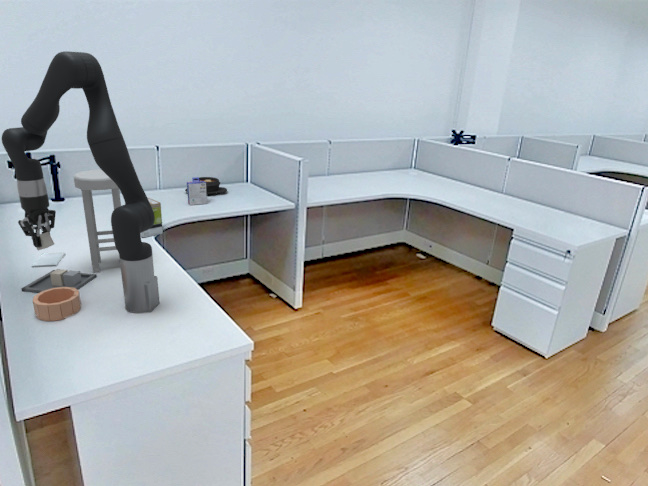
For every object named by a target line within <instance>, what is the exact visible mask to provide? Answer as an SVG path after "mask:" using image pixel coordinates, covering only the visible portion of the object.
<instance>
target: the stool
mask: <svg viewBox="0 0 648 486" xmlns="http://www.w3.org/2000/svg"><path fill="white" fill-rule="evenodd" d="M73 183H74V187H75V188H76V189H79V190H81V196H82V197H81V198H82V204H83V212H84V219H85V225H86V231H87V232H86V233H87V239H88V247H89V252H90V259H91V261H90V262H91V267H92V274H98V273H101V265H100V264H101V263H102V259H101V252H110V251H117V249H116V246H115V245H114V246H113V245H112V246H100V245H99V244H107V243H108V244H109V243H115V242H114V237H112V238H111V237H109V238H100V239H99V236H105V235H113V231H112V230H101V231H99V230H98V229H97V223H96V222H97V220H96V215H95V207H94V199H93V193H92V192H93V191H107V190H111V197H112V205H113V210H114V209H116V208H117V207H120V206H122V201H121V191H120V189H119V188H118V186H117V185H116V184H115V182H114V181H113V180H112V179H110V178H109V177H108V176H107V175H106V174H105V173H104V172H103V171H102V170H101V169H91V170H90V169H89V170H82V171H79V172H76V173H74V176H73ZM97 230H98V231H97Z"/></svg>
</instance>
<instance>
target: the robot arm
mask: <svg viewBox="0 0 648 486" xmlns="http://www.w3.org/2000/svg"><path fill="white" fill-rule="evenodd" d="M106 83H107V82H106V79H105V74H104V72H103V69H102V66H101V64H100V63H99V60H98V59H97V58H96V57H95V56H94V55H92V54H91V53H88V52H81V51H67V50H66V51H60V52H58V53H56V54H55V56H53V57H52V60H51V62H50V63H49V66H48V68H47V70H46V72H45V75H44V78H43V80H42V82H41V85H40V87H39V90H38V93H37V94H36V97H35V98H34V99H33V101H32V103H31V104H30V105H29V107H28V108H27V109H26V111H25V112H24V113H23V114H22V116H21V119H20V124H21V127H11V128H10V127H9V128H6V129H4V131H3V132H2V134H1V144H2V147H3V148H4V150H5V152H6V154H7V155H8V157H9V159H10V162H11V163H12V166H13V167H14V172H15V178H16V184H17V185H16V187H17V192H18V193H17V194H18V197H19V202H20V205H21V209H22V210H23V211H24V218H23V219H22V220H18V221H17V223H18V225H19V227H20V229H21V230H22V231H23V233H24V235H25V236H26V237H31V240H32V243H33V244H32V245H33V246H34V247H35V248H36V247H42V244H41V238H40V234H42V233H45V232H49V234H50V235H51V230H52V229H54V228H55V223H56V210H54V209H49V207H50V201H49V200H50V199H49V196H48V190H47V189H48V188H47V185H46V182H45V177H44V173H43V167H42V164H41V162H40V160H39V159H36V158H28V156H27V154H26V152H32V151H36V150H39V149H40V148H41V147H42V146H44V145H45V141H46V139H47V135H48V131H49V130H50V129H51V127H52V126H53V124H54V123H55V122H56V121H57V119H58V118H59V115H60V100H61V98H62V97H63V96H64V95H65V94H66V93H67V92H68V91H70V90H71V89H74V90H76V89H78V90H79V89H82V90H83V93H84V96H85V97H86V101H87V105H88V111H89V113H88V114H89V115H88V121H87V128H86V140H87V143H88V146H89V149H90V152H91V155H92V157H93V159H94V161H95V163H96V165H97V167H99V170H102V171H103V172H104V173H105V174H106V175H107V176H108V177H109V178H110V179H112V180H113V181H114V182H115V184H116V185H117V186H118V188H119V191H120V194H121V195H122V198H123V201H124V204H121V206H120V207H117V208H116V209H114V208H113V210H112V213H111V217H110V225H111V231H113V234H112V238H114V242H113V243H114V246H116V249H117V250H116V252H118V257H119V263H120V267H119V268H120V272H121V273H120V274H121V283H122V289H123V291H122V292H123V298H124V305H125V310H126V311H127V312H129V313H134V314H141V313H147V312H148V313H151V312H152V311H153V310H154V309H155V308H156V307H157V306H158V305H160V291H159V281H158V280H159V279H158V275H155V269H154V256H153V247H152V245H151V244H150V243H148V242H145V241H142V237H141V236H140V233H142V232H144V231H146V230H148V229H150V228H151V227H152V226H153V225H154V221H155V216H154V212H153V209H152V207H151V204H150V202H149V200H148V198H149V197H148V196H147V194H146V192H145V191H144V188H143V186H142V184H141V182H140V180H139V177H138V174H137V171H136V169H135V166H134V164H133V161H132V159H131V156H130V153H129V149H128V146H127V145H126V141H125V138H124V136H123V133H122V131H121V129H120V127H119V123H118V121H117V117H116V114H115V111H114V108H113V106H112V105H113V104H112V102H111V99H110V94H109V90H108V87H107V84H106ZM147 197H148V198H147Z"/></svg>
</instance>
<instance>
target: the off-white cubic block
mask: <svg viewBox="0 0 648 486" xmlns="http://www.w3.org/2000/svg"><path fill="white" fill-rule="evenodd" d="M54 270H55V271H53V270H52V271H53V272H51V271H50V272H51V273H50V276H51V281H52V286H61V287H62V286H64V285H65V284H64V278H63V274H65V273H66V272H68V271H69V270H67V269H61V268H57V269H54Z"/></svg>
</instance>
